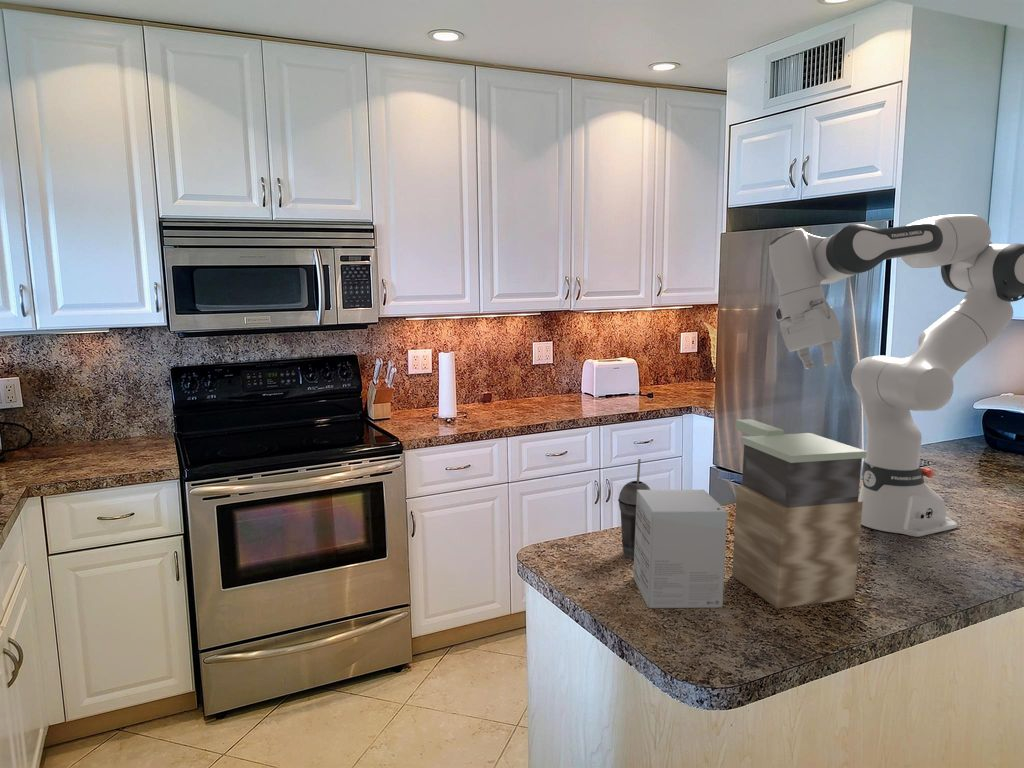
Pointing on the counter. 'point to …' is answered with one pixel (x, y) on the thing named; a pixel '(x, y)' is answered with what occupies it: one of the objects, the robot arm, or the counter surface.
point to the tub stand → (797, 529)
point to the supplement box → (679, 549)
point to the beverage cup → (630, 513)
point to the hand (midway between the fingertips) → (819, 366)
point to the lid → (794, 444)
